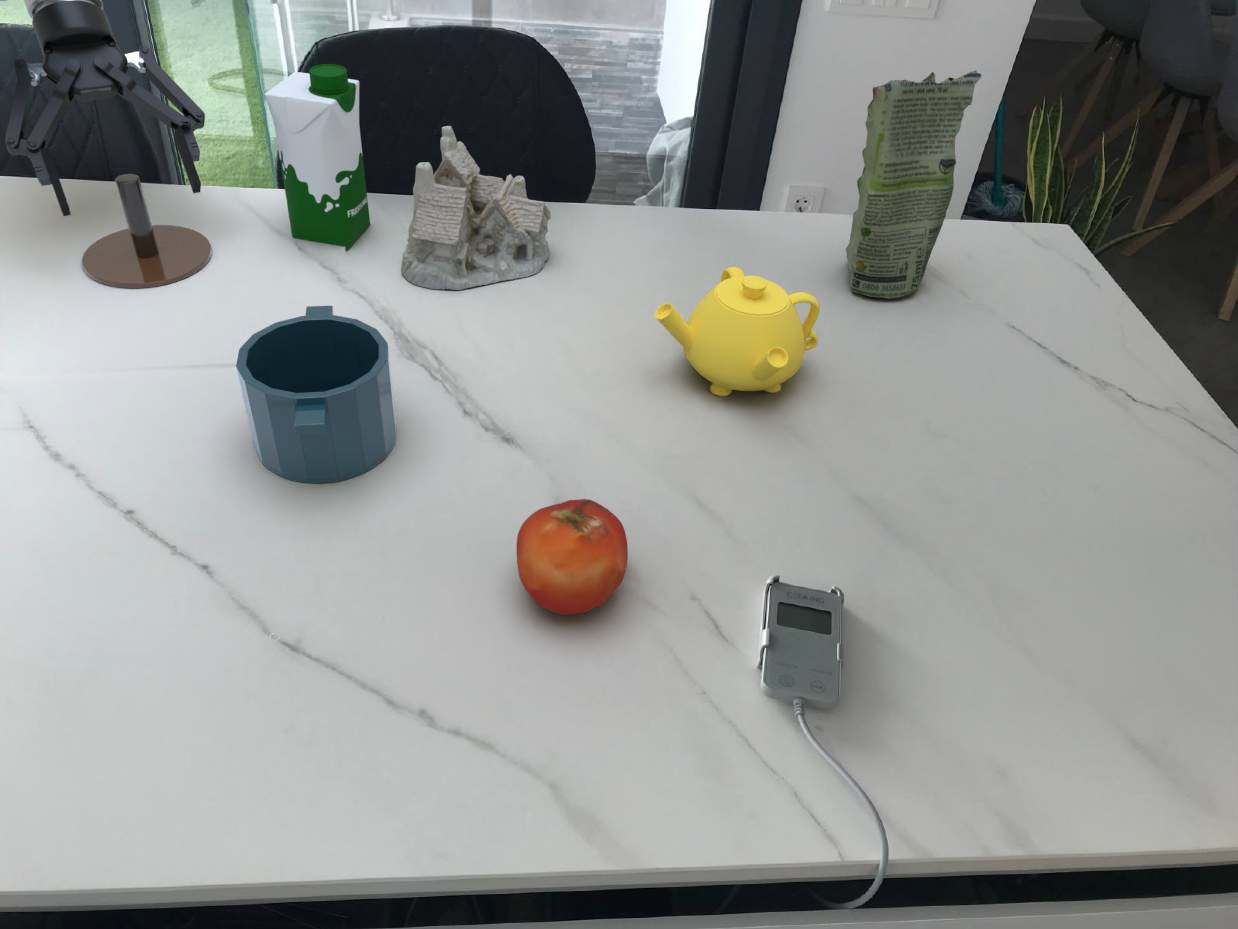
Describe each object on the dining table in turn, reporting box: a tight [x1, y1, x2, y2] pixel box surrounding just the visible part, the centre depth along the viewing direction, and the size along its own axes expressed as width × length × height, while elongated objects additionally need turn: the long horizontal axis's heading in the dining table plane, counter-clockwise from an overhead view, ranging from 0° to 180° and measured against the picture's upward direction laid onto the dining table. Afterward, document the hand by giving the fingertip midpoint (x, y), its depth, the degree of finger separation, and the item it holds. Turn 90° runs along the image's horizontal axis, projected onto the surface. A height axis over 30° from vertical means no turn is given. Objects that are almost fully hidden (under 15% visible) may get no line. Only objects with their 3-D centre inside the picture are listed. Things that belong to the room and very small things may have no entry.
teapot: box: [654, 266, 820, 397], centre depth 100 cm, size 14×14×11 cm
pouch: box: [845, 69, 983, 300], centre depth 113 cm, size 11×12×25 cm
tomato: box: [516, 498, 629, 616], centre depth 77 cm, size 9×9×8 cm
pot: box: [235, 305, 397, 484], centre depth 88 cm, size 13×18×10 cm
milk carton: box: [264, 63, 371, 251], centre depth 114 cm, size 9×9×20 cm
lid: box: [81, 173, 213, 289], centre depth 109 cm, size 14×14×10 cm
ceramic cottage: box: [400, 125, 552, 291], centre depth 113 cm, size 16×16×15 cm
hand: (133, 199), depth 108 cm, fingers open, 13 cm apart
